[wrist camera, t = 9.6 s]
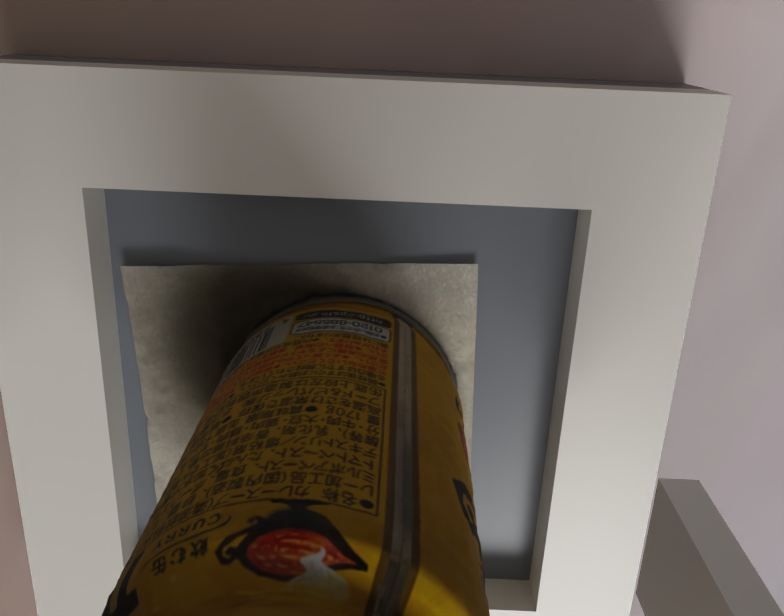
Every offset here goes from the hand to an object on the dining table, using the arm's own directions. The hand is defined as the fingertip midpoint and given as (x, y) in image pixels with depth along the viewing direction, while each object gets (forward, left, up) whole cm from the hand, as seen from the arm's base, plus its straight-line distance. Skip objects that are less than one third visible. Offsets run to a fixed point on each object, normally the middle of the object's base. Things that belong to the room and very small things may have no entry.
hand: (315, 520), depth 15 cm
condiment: (0, +1, -5) cm, 5 cm away
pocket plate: (0, 0, -7) cm, 7 cm away
